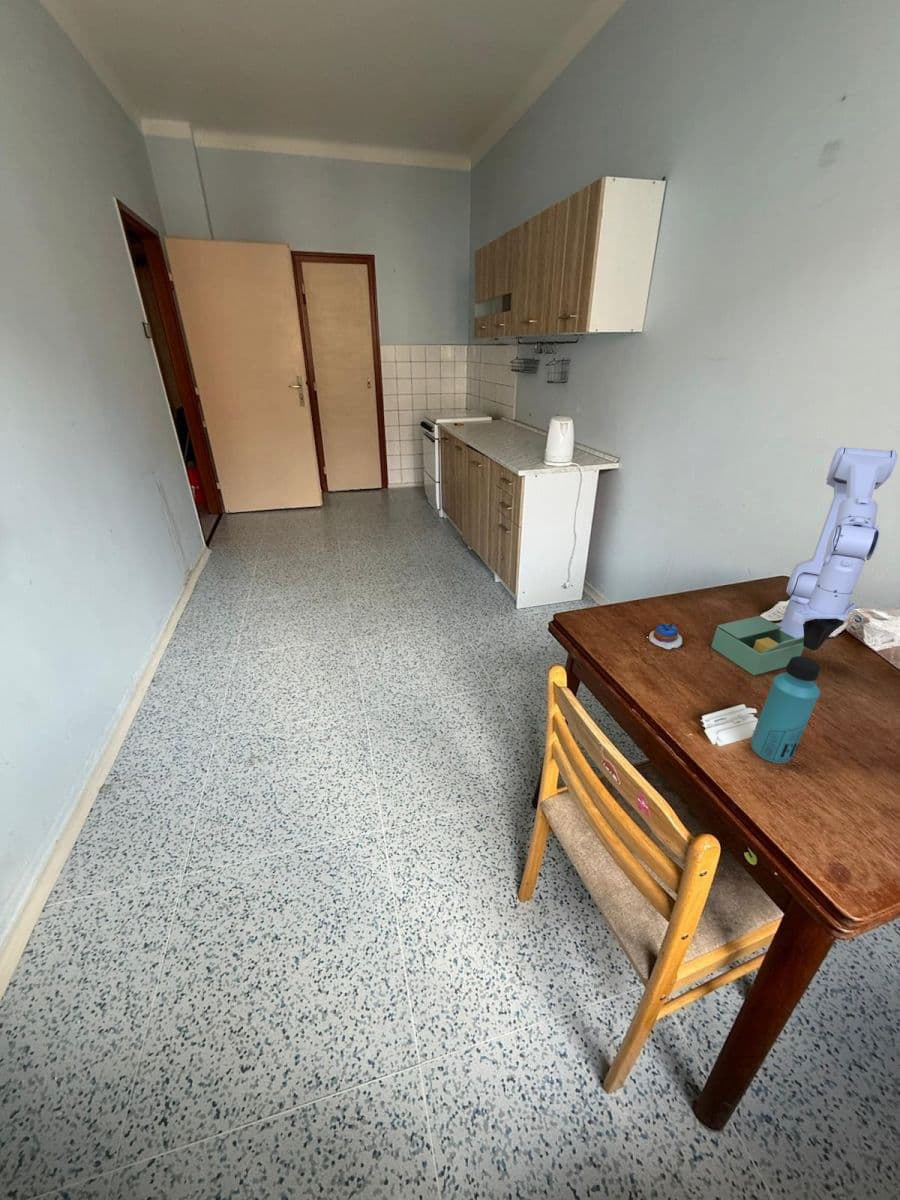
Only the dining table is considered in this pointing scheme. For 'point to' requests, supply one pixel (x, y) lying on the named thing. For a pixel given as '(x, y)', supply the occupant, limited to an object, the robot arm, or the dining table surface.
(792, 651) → the green storage box
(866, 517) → the robot arm
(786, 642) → the flap
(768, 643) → the yellow block
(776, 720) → the beverage bottle
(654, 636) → the dessert
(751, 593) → the dining table surface
